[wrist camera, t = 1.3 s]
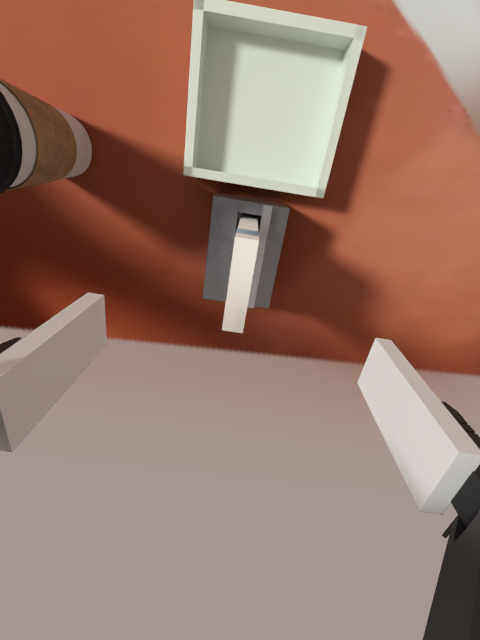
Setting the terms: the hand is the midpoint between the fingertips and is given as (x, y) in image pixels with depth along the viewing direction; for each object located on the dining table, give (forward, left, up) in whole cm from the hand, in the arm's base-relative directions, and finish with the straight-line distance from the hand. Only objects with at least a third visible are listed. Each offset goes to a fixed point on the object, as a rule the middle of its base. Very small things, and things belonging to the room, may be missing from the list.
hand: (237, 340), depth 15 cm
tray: (0, +13, -22) cm, 25 cm away
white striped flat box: (0, 0, -21) cm, 21 cm away
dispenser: (0, 0, -22) cm, 22 cm away
